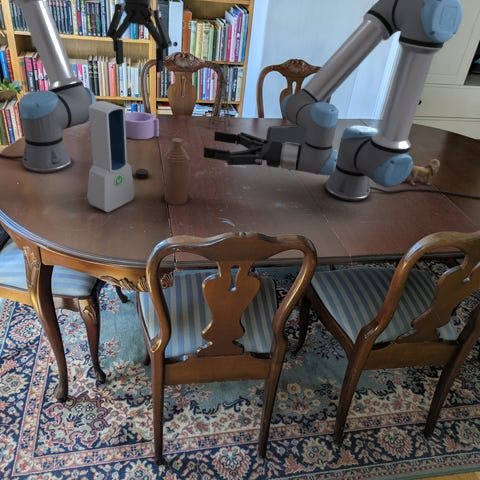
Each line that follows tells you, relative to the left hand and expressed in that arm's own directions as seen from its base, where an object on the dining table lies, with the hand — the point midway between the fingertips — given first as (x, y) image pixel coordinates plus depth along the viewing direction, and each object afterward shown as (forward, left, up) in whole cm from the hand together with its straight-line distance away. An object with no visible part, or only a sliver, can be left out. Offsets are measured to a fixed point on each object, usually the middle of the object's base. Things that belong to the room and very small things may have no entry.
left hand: (139, 67), depth 139 cm
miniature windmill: (+17, +59, -36) cm, 71 cm away
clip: (-15, +37, -36) cm, 53 cm away
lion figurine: (+98, +27, -36) cm, 107 cm away
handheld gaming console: (+50, +43, -36) cm, 74 cm away
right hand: (+24, -13, -16) cm, 32 cm away
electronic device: (-3, -20, -36) cm, 41 cm away
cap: (0, 0, -34) cm, 34 cm away
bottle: (+15, -12, -36) cm, 41 cm away
